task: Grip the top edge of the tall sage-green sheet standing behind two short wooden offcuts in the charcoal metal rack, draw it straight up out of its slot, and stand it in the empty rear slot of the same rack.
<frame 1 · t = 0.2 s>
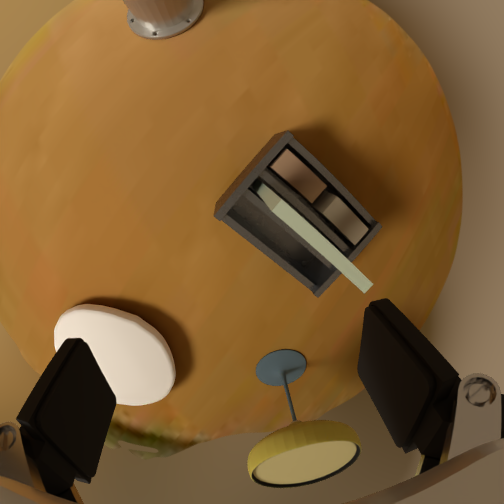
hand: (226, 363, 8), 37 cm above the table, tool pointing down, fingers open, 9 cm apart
rack: (287, 210, 45), on the table
plate: (114, 351, 52), on the table
cocktail glass: (280, 367, 56), on the table
grey offcut: (327, 209, 44), point 1 cm above the table, touching rack
sage sheet: (289, 211, 44), point 1 cm above the table, touching rack
walnut offcut: (286, 171, 42), point 1 cm above the table, touching rack
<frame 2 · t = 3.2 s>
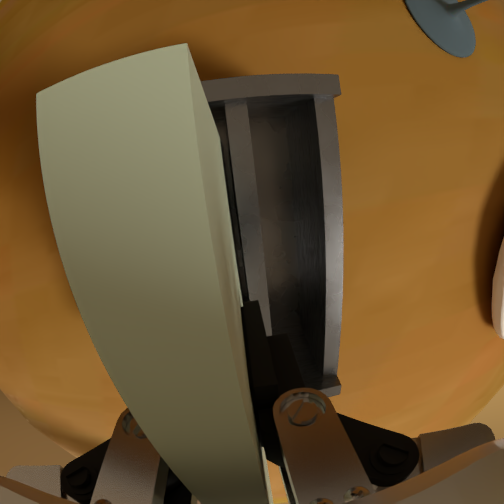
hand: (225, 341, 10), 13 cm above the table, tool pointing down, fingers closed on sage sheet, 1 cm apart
rack: (224, 235, 22), on the table
cocktail glass: (440, 15, 16), on the table
sage sheet: (225, 239, 21), point 1 cm above the table, touching gripper
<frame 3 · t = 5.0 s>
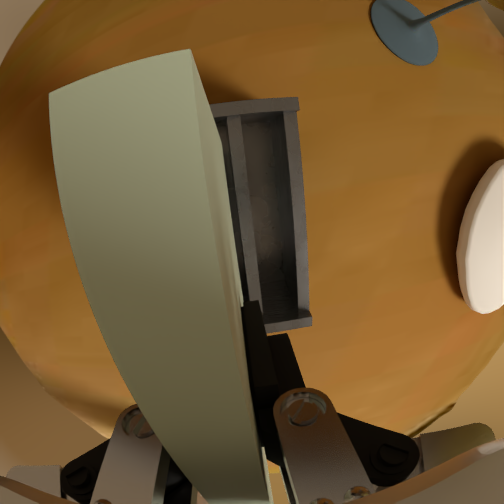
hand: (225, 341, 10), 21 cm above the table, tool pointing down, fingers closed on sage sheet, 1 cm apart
rack: (226, 209, 29), on the table
plate: (494, 233, 34), on the table
cocktail glass: (405, 29, 23), on the table
sage sheet: (224, 238, 21), point 9 cm above the table, touching gripper
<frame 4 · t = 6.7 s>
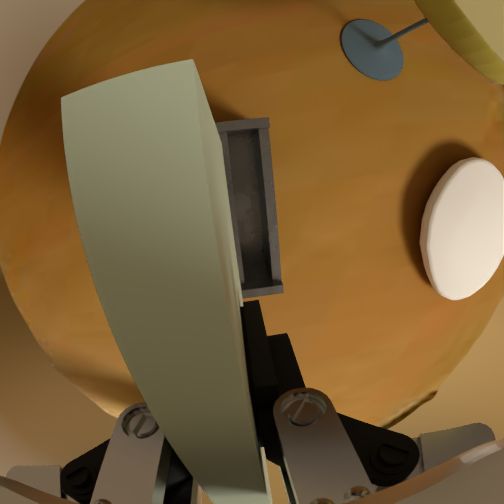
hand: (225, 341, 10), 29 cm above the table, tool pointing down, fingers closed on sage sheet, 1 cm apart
rack: (218, 202, 37), on the table
plate: (462, 227, 42), on the table
cocktail glass: (373, 49, 31), on the table
sage sheet: (224, 237, 21), point 17 cm above the table, touching gripper
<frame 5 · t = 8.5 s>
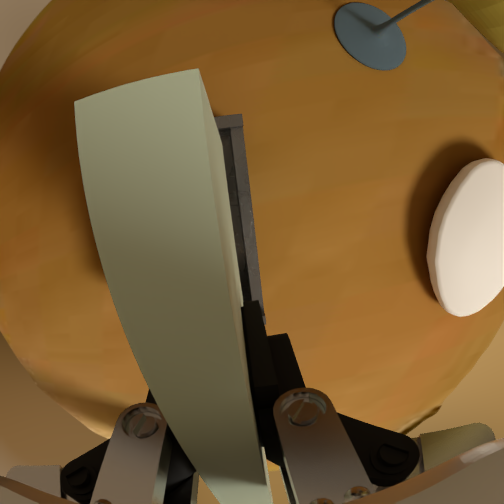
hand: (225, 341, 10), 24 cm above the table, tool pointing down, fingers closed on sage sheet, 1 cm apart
rack: (192, 216, 32), on the table
plate: (472, 236, 37), on the table
cocktail glass: (371, 35, 26), on the table
sage sheet: (224, 237, 22), point 11 cm above the table, touching gripper
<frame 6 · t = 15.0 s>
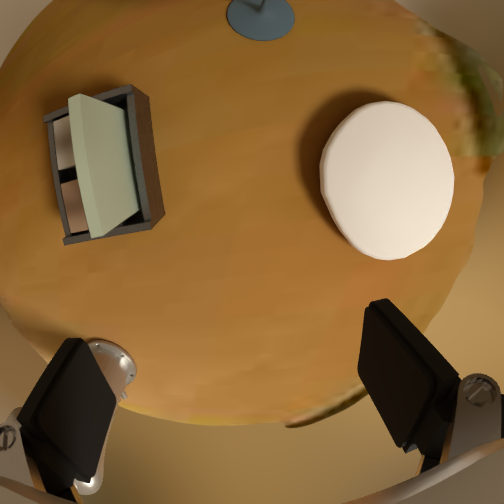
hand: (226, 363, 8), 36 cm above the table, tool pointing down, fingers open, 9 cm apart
rack: (118, 163, 39), on the table
plate: (387, 180, 44), on the table
cocktail glass: (261, 15, 33), on the table
grey offcut: (88, 142, 36), point 1 cm above the table, touching rack
sage sheet: (137, 159, 38), point 1 cm above the table, touching rack
walnut offcut: (97, 197, 39), point 1 cm above the table, touching rack
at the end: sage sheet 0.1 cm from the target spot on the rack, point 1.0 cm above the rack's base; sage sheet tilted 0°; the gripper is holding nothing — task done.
